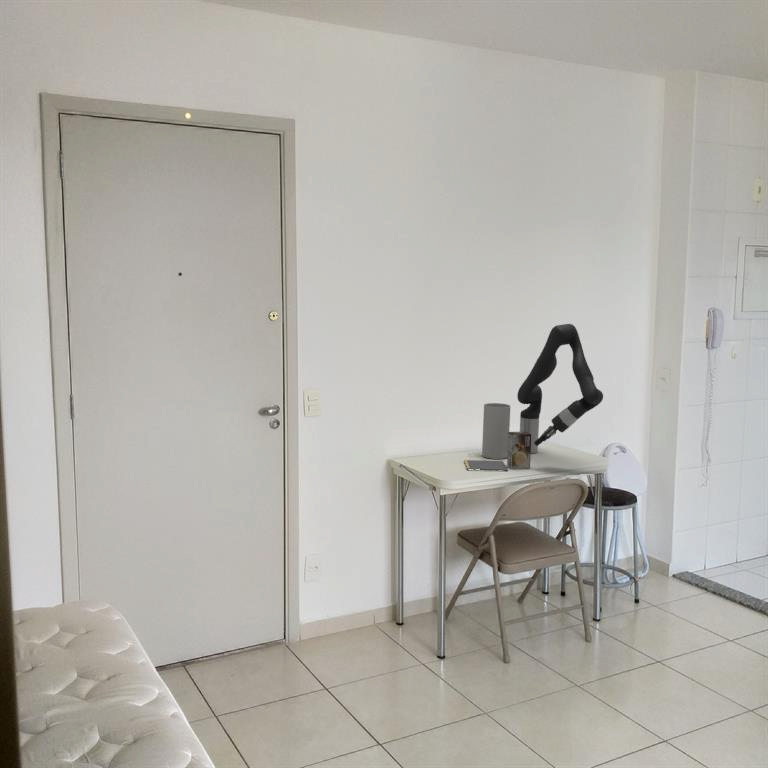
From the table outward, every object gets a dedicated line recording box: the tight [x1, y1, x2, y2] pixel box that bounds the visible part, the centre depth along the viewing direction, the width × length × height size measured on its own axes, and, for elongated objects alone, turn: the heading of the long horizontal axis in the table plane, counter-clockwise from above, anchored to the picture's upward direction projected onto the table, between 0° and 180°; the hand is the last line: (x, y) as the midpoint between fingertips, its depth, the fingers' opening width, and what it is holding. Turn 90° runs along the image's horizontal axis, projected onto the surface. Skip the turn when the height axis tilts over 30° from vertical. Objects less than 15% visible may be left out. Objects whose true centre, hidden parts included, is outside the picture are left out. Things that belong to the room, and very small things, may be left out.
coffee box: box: [506, 431, 532, 470], centre depth 359 cm, size 9×6×16 cm
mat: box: [463, 459, 509, 472], centre depth 360 cm, size 16×18×1 cm
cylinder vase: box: [481, 402, 511, 460], centre depth 378 cm, size 12×12×25 cm
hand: (535, 444), depth 356 cm, fingers closed
